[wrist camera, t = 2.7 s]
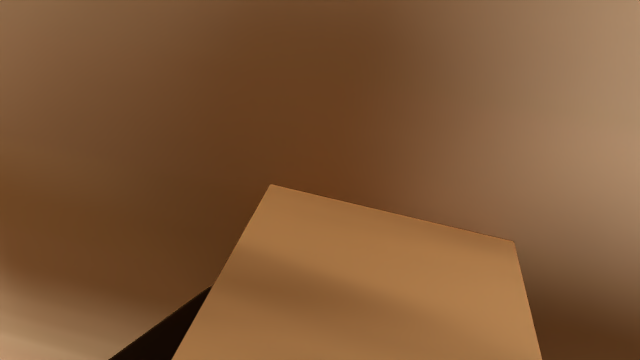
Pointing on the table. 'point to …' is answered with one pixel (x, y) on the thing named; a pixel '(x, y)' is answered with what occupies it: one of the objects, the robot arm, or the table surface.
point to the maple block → (361, 289)
